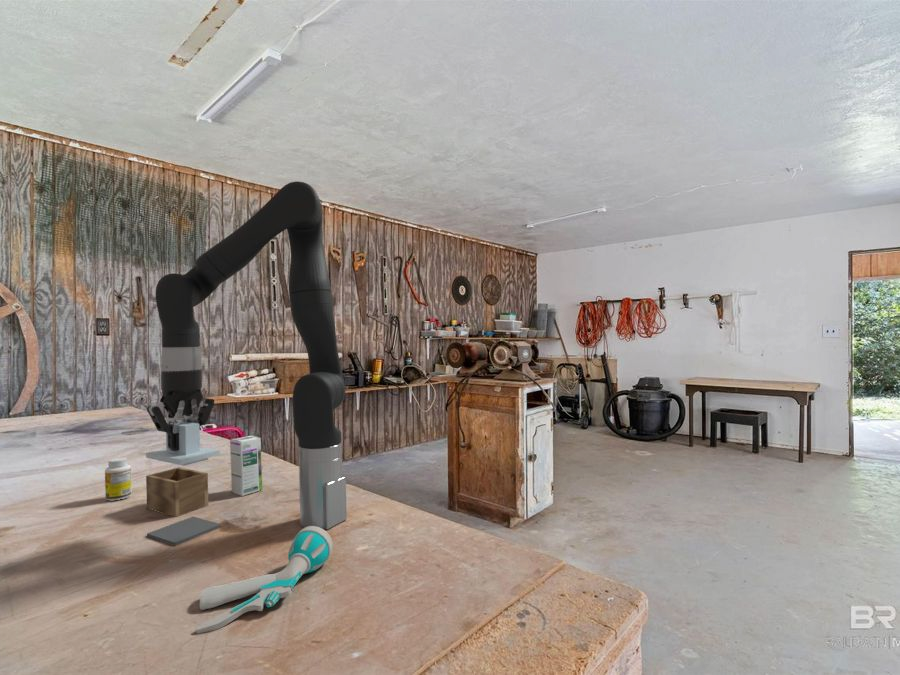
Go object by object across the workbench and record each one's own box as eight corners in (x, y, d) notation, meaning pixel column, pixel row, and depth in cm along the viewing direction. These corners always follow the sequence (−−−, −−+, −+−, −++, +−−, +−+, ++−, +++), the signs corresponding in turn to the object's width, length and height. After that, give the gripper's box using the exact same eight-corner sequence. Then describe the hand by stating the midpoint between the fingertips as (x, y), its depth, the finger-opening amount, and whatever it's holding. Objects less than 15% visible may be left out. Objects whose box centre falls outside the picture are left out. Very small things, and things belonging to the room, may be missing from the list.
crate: (208, 505, 113) (207, 473, 113) (175, 516, 106) (175, 482, 106) (179, 497, 118) (178, 467, 118) (146, 508, 111) (146, 475, 111)
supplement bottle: (109, 496, 121) (108, 458, 121) (134, 493, 123) (133, 455, 123) (102, 503, 116) (101, 463, 116) (128, 499, 118) (127, 460, 118)
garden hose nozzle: (185, 611, 63) (333, 571, 68) (211, 544, 79) (329, 516, 85) (194, 657, 64) (339, 614, 69) (218, 582, 80) (334, 552, 86)
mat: (221, 526, 99) (221, 524, 99) (175, 545, 91) (175, 542, 91) (193, 518, 104) (193, 516, 104) (146, 536, 95) (146, 533, 95)
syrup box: (242, 496, 118) (241, 441, 118) (230, 492, 122) (229, 438, 122) (262, 490, 123) (261, 437, 123) (251, 486, 126) (249, 434, 126)
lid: (219, 458, 98) (219, 422, 98) (180, 468, 91) (180, 429, 91) (185, 452, 104) (184, 418, 104) (146, 461, 97) (145, 424, 97)
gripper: (157, 371, 89) (159, 458, 89) (222, 366, 102) (224, 443, 102) (136, 370, 93) (138, 454, 93) (202, 365, 105) (203, 440, 105)
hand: (183, 448), depth 97 cm, fingers closed on lid, 3 cm apart
